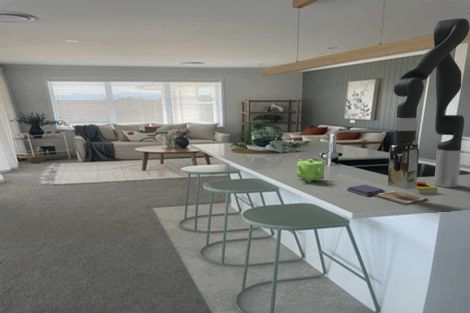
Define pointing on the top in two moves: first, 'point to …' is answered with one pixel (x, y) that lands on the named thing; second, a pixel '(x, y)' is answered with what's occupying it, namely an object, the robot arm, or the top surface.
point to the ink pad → (365, 190)
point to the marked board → (401, 197)
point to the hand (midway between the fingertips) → (402, 169)
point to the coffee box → (404, 170)
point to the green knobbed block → (310, 170)
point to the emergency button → (424, 189)
